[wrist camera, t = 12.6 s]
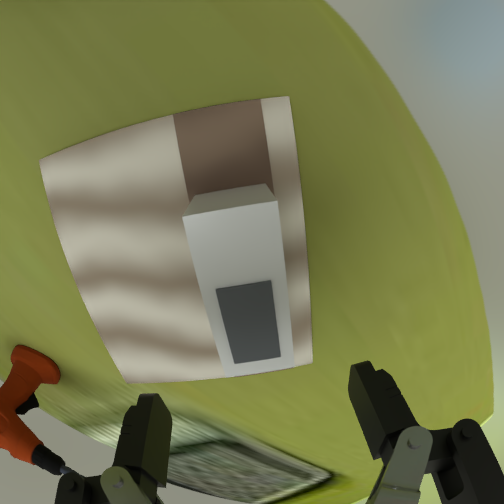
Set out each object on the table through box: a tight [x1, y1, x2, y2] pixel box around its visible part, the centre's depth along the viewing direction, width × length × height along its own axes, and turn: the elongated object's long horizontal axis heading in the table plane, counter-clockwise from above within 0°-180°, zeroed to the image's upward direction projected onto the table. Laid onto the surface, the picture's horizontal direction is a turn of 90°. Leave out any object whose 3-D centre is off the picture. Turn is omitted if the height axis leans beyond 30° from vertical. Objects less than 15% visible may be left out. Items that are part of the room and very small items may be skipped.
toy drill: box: [0, 345, 84, 478], centre depth 21 cm, size 5×19×15 cm, turn 71°
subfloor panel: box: [39, 96, 313, 383], centre depth 23 cm, size 24×20×1 cm
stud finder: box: [182, 183, 295, 378], centre depth 20 cm, size 12×5×6 cm, turn 8°
